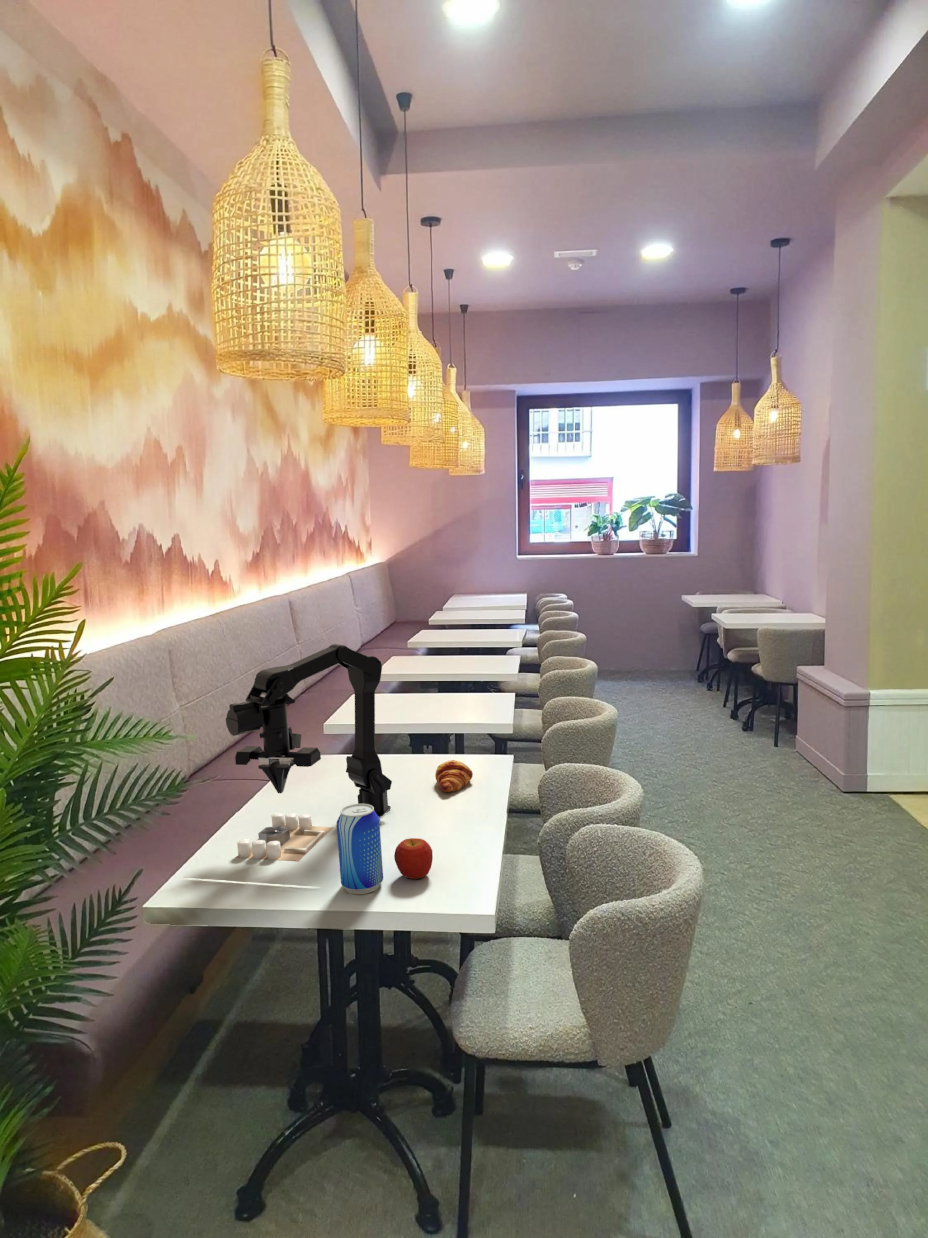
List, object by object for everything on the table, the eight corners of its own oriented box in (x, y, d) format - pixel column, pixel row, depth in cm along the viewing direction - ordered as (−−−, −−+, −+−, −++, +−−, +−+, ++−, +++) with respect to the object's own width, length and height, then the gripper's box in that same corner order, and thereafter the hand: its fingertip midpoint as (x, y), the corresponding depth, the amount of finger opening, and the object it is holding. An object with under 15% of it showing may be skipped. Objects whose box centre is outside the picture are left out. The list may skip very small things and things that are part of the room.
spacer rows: (314, 826, 196) (313, 814, 195) (277, 860, 177) (276, 846, 177) (276, 824, 198) (275, 812, 198) (235, 857, 180) (234, 844, 180)
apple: (403, 888, 162) (400, 850, 161) (390, 872, 169) (388, 836, 168) (439, 879, 165) (437, 842, 164) (425, 864, 172) (423, 829, 171)
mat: (333, 829, 194) (333, 824, 194) (298, 863, 176) (298, 857, 176) (276, 826, 198) (275, 821, 198) (235, 859, 180) (235, 853, 180)
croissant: (451, 782, 234) (437, 758, 234) (481, 766, 232) (467, 742, 232) (437, 808, 213) (421, 781, 213) (470, 790, 211) (454, 764, 211)
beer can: (365, 899, 158) (360, 820, 156) (332, 890, 162) (326, 813, 160) (392, 882, 165) (387, 805, 163) (359, 874, 169) (354, 799, 167)
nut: (293, 835, 191) (292, 825, 190) (279, 848, 184) (278, 837, 184) (269, 834, 192) (269, 824, 192) (255, 846, 185) (254, 836, 185)
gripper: (328, 717, 189) (333, 782, 191) (254, 716, 194) (260, 779, 196) (307, 730, 178) (312, 799, 181) (230, 728, 183) (236, 796, 185)
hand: (280, 792), depth 186 cm, fingers closed
